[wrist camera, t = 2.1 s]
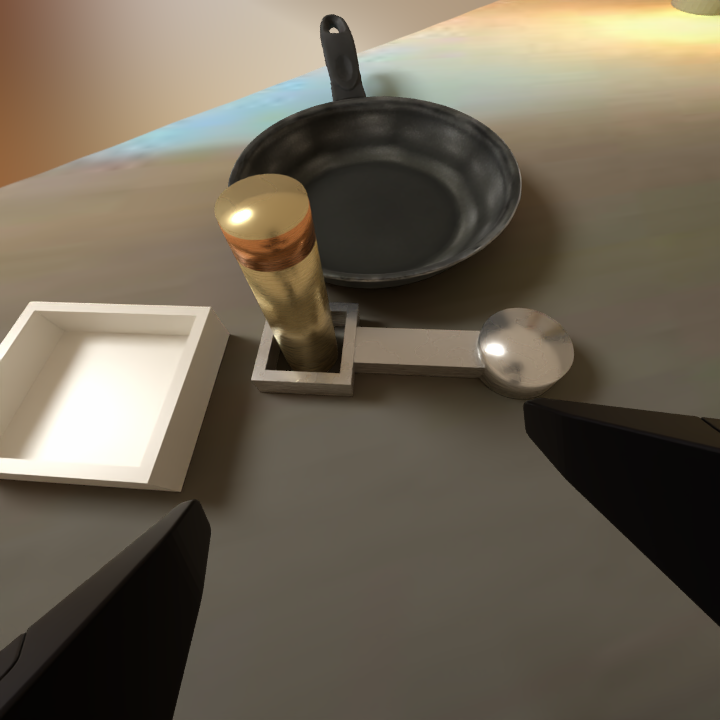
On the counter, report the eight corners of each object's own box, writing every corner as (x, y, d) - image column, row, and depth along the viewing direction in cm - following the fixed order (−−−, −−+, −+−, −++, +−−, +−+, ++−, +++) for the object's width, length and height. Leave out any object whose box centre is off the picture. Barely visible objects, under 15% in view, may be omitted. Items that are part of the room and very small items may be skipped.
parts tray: (229, 333, 27) (210, 306, 24) (180, 492, 21) (147, 483, 18) (68, 328, 28) (30, 301, 25) (-21, 477, 22) (-84, 466, 19)
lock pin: (341, 332, 26) (314, 173, 15) (335, 378, 25) (299, 235, 13) (291, 330, 27) (228, 173, 15) (282, 375, 25) (201, 233, 13)
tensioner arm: (546, 324, 26) (561, 304, 24) (565, 406, 23) (585, 392, 20) (277, 316, 28) (269, 296, 25) (260, 391, 24) (248, 376, 22)
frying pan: (544, 299, 27) (590, 232, 21) (239, 337, 27) (201, 279, 21) (428, 66, 49) (435, 0, 43) (256, 85, 48) (239, 21, 42)
